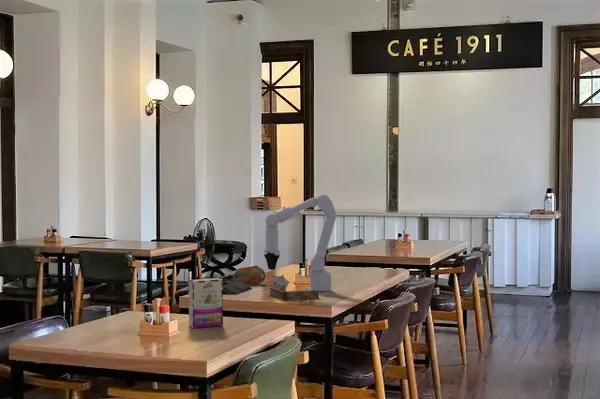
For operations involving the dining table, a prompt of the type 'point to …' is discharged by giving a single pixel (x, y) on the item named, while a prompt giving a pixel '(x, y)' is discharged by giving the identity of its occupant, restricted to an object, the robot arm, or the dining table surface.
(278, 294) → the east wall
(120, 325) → the dining table surface
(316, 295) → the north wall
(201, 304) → the candy bar box
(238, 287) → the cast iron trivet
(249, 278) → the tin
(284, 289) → the game die
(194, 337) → the dining table surface
